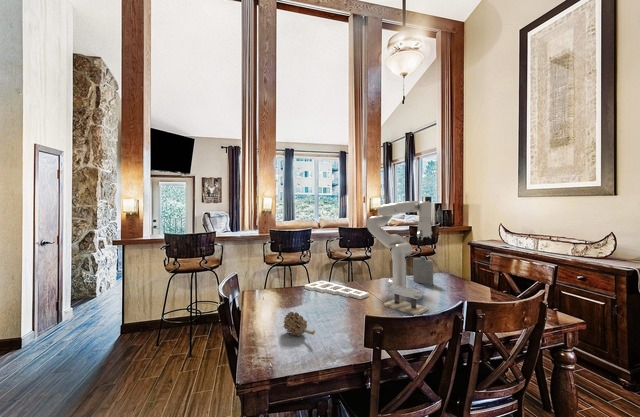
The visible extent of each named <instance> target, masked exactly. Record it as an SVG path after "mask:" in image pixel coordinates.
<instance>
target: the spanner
mask: <svg viewBox="0 0 640 417" xmlns="http://www.w3.org/2000/svg"><path fill="white" fill-rule="evenodd" d="M390 293H391V294H398V295H400V296H402V297H406V298H407V297H408V298H410V299H411V298H414V299H416V300H419V299H421V298H423V296H422V294H423V292H422V291H421V290H419V289H414V288H410V287H409V288H406V287H402V286H397V285H392V286H391V285H390V286H389V294H390Z"/></svg>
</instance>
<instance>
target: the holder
mask: <svg viewBox="0 0 640 417" xmlns="http://www.w3.org/2000/svg"><path fill="white" fill-rule="evenodd" d="M304 286H305V288H304V289H306V290H309V291H317V292H320V293H323V292H324V293H328V294H332V295H334V294H335V296H336V295H339V296H343V297H345V298H349V297H352V298H354V299H358V300H362V299H363V300H364V299H365V298H368V297H369V296H370V295H369V294H370V293H369V292H366V291H363V290H359V289H356V288H351V287H348V286H344V285H340V284H337V283H332V282H330V281H325V280H318V281H314V282H312V283H311V282H310V283H307V284H304ZM333 289H334V290H333Z"/></svg>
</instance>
